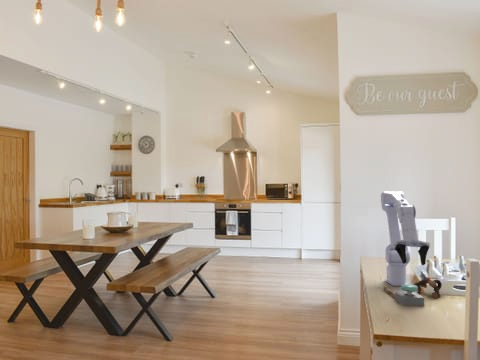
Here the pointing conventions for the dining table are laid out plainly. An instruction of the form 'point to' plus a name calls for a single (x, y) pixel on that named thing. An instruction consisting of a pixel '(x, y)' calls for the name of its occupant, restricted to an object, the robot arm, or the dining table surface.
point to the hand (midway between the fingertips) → (414, 263)
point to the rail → (389, 291)
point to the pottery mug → (432, 283)
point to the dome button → (409, 288)
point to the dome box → (409, 299)
